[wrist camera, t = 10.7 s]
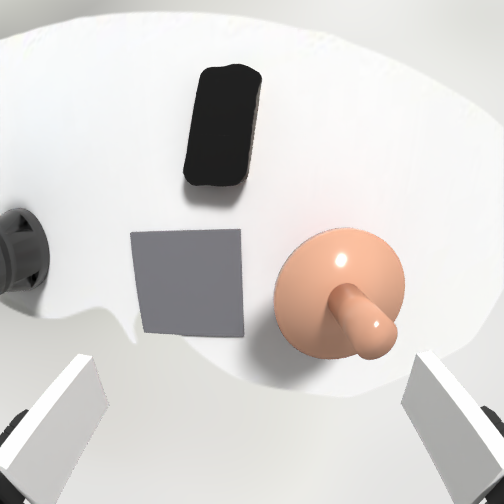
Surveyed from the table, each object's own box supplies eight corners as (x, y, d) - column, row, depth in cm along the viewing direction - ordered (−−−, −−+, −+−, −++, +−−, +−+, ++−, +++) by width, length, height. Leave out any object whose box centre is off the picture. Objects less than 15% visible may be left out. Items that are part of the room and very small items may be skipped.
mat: (145, 330, 44) (144, 332, 44) (131, 232, 41) (130, 232, 40) (244, 334, 44) (243, 336, 43) (240, 229, 40) (240, 229, 39)
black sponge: (247, 188, 39) (245, 189, 36) (186, 181, 39) (178, 181, 36) (264, 75, 35) (264, 66, 32) (204, 70, 35) (199, 61, 32)
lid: (273, 358, 31) (283, 417, 22) (272, 229, 27) (288, 253, 18) (389, 345, 31) (426, 390, 22) (405, 227, 28) (460, 246, 19)
